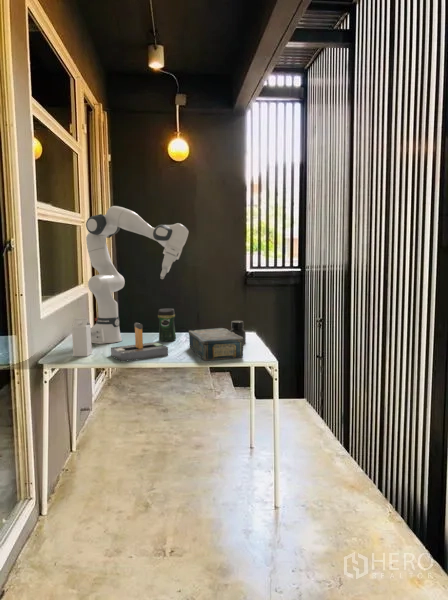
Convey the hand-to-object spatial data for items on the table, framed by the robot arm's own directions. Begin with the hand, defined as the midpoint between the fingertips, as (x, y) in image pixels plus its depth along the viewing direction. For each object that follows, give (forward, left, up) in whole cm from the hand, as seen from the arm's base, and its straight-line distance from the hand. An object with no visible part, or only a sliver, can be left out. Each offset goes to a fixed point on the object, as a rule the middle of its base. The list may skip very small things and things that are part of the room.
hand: (161, 277), depth 247 cm
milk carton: (-32, -26, -38) cm, 56 cm away
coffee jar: (-10, +21, -38) cm, 45 cm away
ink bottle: (+31, +28, -38) cm, 57 cm away
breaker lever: (-4, -17, -34) cm, 38 cm away
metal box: (+29, +2, -38) cm, 48 cm away
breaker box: (-4, -17, -38) cm, 42 cm away
